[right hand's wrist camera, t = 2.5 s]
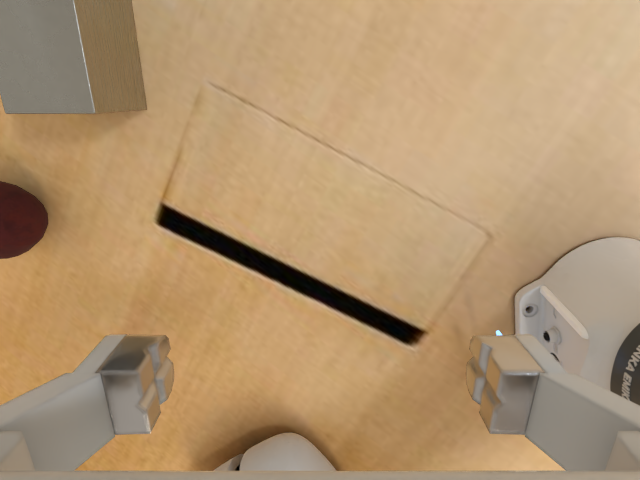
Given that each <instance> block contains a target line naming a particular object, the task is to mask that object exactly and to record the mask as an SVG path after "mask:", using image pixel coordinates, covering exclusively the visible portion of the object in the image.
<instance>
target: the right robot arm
mask: <svg viewBox="0 0 640 480" xmlns="http://www.w3.org/2000/svg"><path fill="white" fill-rule="evenodd" d="M529 306H530V308H529V309H527V310H526V308H527V307H529ZM170 349H171V348H170V343H169V338H168V337H167V336H166V335H131V334H129V335H127V334H111V335H107V336H105V337H104V338H103V339H102V341H101V342H100V343H99V344H98V345H97V346H96V347H95V348H94V349H93V351H92V352H91V353H90V354H89V355H88V356H87V357H86V358H85V359H84V361H83V362H82V363H81V364H80V365H79V366H78V367H77V368H76V369H75V371H74V372H73V373H65V374H63V375H61V376H59V377H57V378H55V379H53V380H51V381H49V382H47V383H45V384H43V385H41V386H39V387H37V388H35V389H33V390H31V391H29V392H27V393H25V394H23V395H21V396H19V397H17V398H15V399H13V400H11V401H9V402H6V403H4V404H2V405H0V480H640V241H639V240H636V239H632V238H626V237H610V238H603V239H599V240H595V241H592V242H589V243H586V244H584V245H582V246H580V247H578V248H576V249H574V250H572V251H571V252H569V253H568V254H566V255H565V256H564V257H562V258H561V259H560V260H559V261H558V262H557V263H555V264H554V265H553V266H552V268H551V269H550V270H549V271H548V272H547V273H546V274H545V275H544V276H542V277H541V278H540V279H538V280H536V281H534V282H532V283H530V284H528V285H527V286H525V287H523V288H522V289H520V290H519V291H518V292H517V294H516V295H515V335H502V334H501V333H500V331H499V330H498V331H496V335H488V336H473V337H472V339H471V342H470V348H469V349H470V351H471V353H472V355H473V357H472V358H471V359H470V360H469V362H468V363H467V368H466V382H467V387H468V390H469V393H470V395H471V397H472V399H473V400H474V401H476V402H477V403H478V404H480V411H479V413H480V415H481V417H482V419H483V421H484V423H485V425H486V427H487V429H488V431H489V433H490V434H522V435H525V437H526V438H528V439H529V440H530V441H531V442H532V443H534V444H535V445H536V446H537V447H538V448H540V449H541V450H542V451H543V452H544V453H546V454H547V455H548V456H549V457H550V458H552V459H553V460H554V461H555V462H556V463H558V464H559V465H560V466H561V467H562V468H564V469H565V470H566V471H74V470H75V469H77V468H78V467H79V466H80V465H81V464H83V463H84V462H85V461H86V460H87V459H89V458H90V457H91V456H92V455H93V454H95V453H96V452H97V451H98V450H99V449H101V448H102V447H103V446H104V445H105V444H107V443H108V442H109V441H110V440H111V439H113V438H114V437H115V435H118V434H150V433H151V431H152V429H153V427H154V425H155V423H156V421H157V419H158V417H159V415H160V413H161V411H160V404H162V403H163V402H164V401H166V400H167V399H168V397H169V395H170V393H171V391H172V386H173V382H174V367H173V363H172V362H171V360H170V359H169V358H168V357H167V355H168V353H169V351H170Z"/></svg>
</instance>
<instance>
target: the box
mask: <svg viewBox="0 0 640 480" xmlns="http://www.w3.org/2000/svg"><path fill="white" fill-rule="evenodd" d="M0 95H1V99H2V102H3V106H4V110H5V113H7V114H98V113H111V112H124V111H136V110H147V106H146V99H145V92H144V85H143V78H142V71H141V64H140V57H139V51H138V44H137V37H136V30H135V23H134V16H133V9H132V2H131V0H0Z"/></svg>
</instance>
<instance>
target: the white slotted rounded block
mask: <svg viewBox="0 0 640 480" xmlns="http://www.w3.org/2000/svg"><path fill="white" fill-rule="evenodd" d="M213 471H336V469H335V468H334V467H333V465H332V464H331V463H330V462H329V461H328V460H327V458H326V457H325V456H324V455H323V454H322V453H321V452H320V451H319V450H318V449H317V448H316V447H315V446H314V445H313V444H312V443H311V442H309V441H308V440H307V439H306V438H304V437H303V436H301V435H299V434H296V433H282V434H278V435H275V436H273V437H271V438H268V439H266V440H264V441H262V442H260V443H258V444H257V445H255V446H253V447H251V448H249V449H248V450H247V451H246V452H245V453H244V454H239V455H237V456H235V457H234V458H232V459H230V460H228V461H227V462H225V463H223V464H222V465H220V466H219V467H217V468H216V469H215V470H213Z"/></svg>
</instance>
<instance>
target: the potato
mask: <svg viewBox="0 0 640 480" xmlns="http://www.w3.org/2000/svg"><path fill="white" fill-rule="evenodd" d="M47 225H48V215H47V212H46V210H45V208H44V206H43V204H42V203H41V202H40V201H39V200H38V199H37V198H36V197H35V196H33V195H32V194H30V193H28V192H27V191H25V190H23V189H22V188H20V187H18V186H16V185H13V184H9V183H5V182H1V181H0V259H4V258H11V257H15V256H18V255H21V254H23V253H25V252H27V251H29V250H30V249H31V248H32V247H33V246H34V245H35V244H36V243H37V242H39V240H40V239H41V238H42V237H43V235H44V233H45V230H46V228H47Z"/></svg>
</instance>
